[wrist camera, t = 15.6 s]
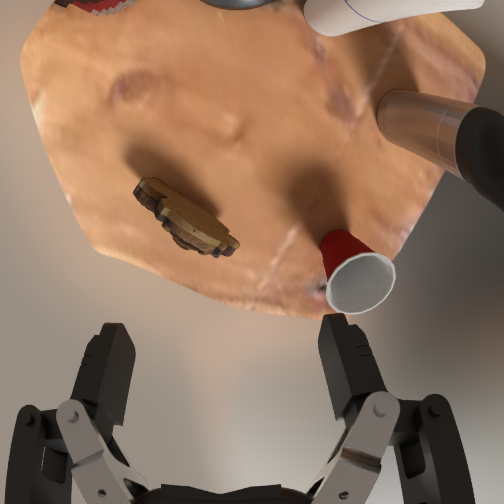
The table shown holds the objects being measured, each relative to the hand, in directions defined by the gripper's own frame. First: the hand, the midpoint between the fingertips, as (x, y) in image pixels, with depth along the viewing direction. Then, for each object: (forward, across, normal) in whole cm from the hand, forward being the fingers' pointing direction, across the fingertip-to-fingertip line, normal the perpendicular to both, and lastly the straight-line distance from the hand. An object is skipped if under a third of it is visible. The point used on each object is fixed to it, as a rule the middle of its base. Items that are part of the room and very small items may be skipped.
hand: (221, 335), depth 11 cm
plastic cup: (+32, -17, +18) cm, 40 cm away
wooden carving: (+31, +6, +9) cm, 33 cm away
